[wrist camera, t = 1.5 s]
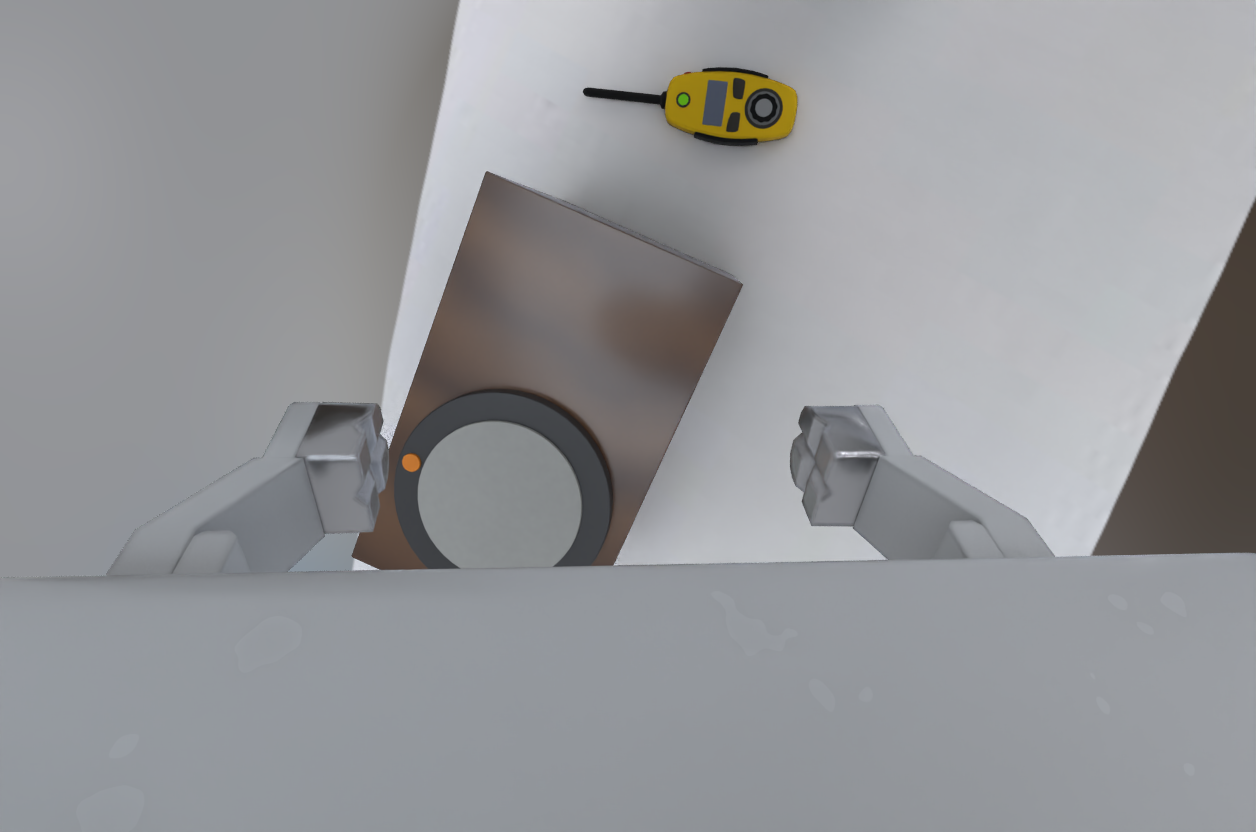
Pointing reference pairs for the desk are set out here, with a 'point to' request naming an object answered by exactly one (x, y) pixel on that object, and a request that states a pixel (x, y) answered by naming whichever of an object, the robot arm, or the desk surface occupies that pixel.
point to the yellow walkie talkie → (722, 105)
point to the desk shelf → (565, 340)
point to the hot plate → (502, 485)
